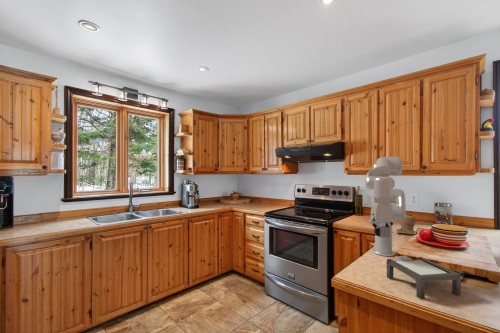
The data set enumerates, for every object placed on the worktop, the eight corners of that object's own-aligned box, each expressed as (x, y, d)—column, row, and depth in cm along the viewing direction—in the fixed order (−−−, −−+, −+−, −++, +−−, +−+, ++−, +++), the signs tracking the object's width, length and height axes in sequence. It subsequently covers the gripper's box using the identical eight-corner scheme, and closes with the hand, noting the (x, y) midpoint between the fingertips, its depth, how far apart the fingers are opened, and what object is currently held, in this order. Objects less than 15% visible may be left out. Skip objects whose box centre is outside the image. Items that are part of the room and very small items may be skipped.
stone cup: (413, 232, 197) (413, 214, 197) (419, 236, 186) (419, 217, 186) (393, 230, 202) (393, 213, 202) (397, 234, 190) (397, 216, 190)
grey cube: (374, 234, 126) (374, 225, 126) (383, 234, 126) (383, 225, 126) (381, 237, 121) (381, 227, 121) (389, 237, 121) (389, 227, 121)
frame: (386, 277, 117) (386, 259, 117) (421, 274, 120) (421, 257, 120) (420, 299, 98) (420, 277, 98) (460, 295, 100) (460, 274, 100)
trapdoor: (388, 260, 120) (388, 256, 120) (412, 259, 122) (412, 255, 122) (420, 278, 101) (420, 274, 101) (448, 276, 103) (448, 272, 103)
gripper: (391, 199, 128) (391, 232, 128) (362, 200, 126) (362, 234, 126) (402, 201, 121) (402, 236, 121) (371, 202, 119) (371, 238, 119)
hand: (382, 235), depth 123 cm, fingers closed on grey cube, 5 cm apart
